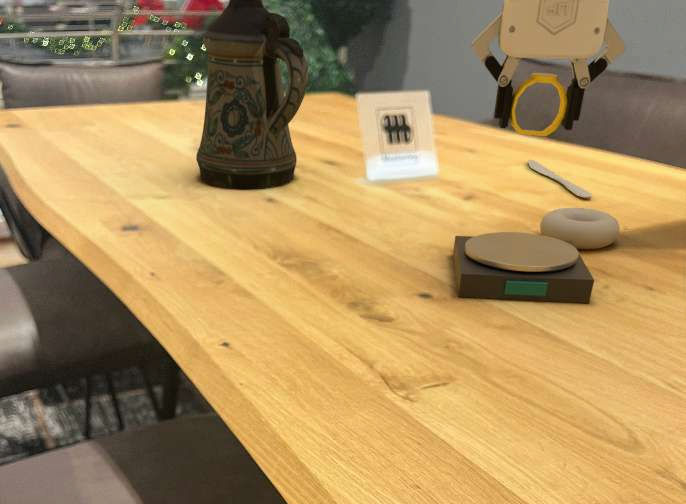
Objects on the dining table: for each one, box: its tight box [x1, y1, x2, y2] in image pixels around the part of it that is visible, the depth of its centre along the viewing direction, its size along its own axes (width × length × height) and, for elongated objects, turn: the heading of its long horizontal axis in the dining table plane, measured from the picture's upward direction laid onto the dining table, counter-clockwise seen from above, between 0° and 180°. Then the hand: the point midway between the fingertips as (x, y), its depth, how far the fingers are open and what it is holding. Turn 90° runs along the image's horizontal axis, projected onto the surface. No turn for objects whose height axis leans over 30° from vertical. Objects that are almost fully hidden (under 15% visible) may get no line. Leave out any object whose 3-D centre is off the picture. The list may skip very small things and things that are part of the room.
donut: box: [539, 207, 621, 250], centre depth 100 cm, size 10×4×10 cm
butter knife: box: [527, 159, 593, 199], centre depth 129 cm, size 1×27×3 cm
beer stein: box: [195, 0, 309, 190], centre depth 120 cm, size 16×19×25 cm
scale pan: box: [465, 231, 580, 272], centre depth 87 cm, size 13×13×1 cm
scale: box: [452, 235, 595, 304], centre depth 87 cm, size 14×14×3 cm
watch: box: [509, 72, 568, 137], centre depth 82 cm, size 6×3×6 cm, turn 93°
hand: (534, 125), depth 83 cm, fingers closed on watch, 6 cm apart
